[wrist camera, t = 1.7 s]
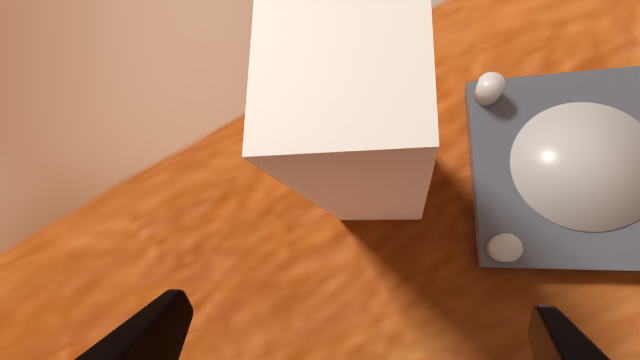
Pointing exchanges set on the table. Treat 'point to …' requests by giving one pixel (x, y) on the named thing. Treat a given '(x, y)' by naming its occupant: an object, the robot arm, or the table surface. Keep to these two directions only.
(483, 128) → the locating plate
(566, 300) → the table surface
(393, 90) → the block
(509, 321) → the table surface
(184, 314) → the robot arm
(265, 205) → the table surface
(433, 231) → the table surface
